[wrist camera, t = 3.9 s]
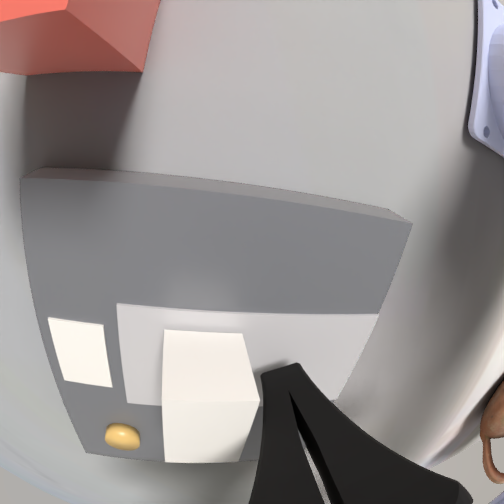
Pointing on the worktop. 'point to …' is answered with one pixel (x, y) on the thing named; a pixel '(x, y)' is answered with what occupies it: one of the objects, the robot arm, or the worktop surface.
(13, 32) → the block
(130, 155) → the worktop surface
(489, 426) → the ceramic jug
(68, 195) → the breaker panel
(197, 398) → the block
